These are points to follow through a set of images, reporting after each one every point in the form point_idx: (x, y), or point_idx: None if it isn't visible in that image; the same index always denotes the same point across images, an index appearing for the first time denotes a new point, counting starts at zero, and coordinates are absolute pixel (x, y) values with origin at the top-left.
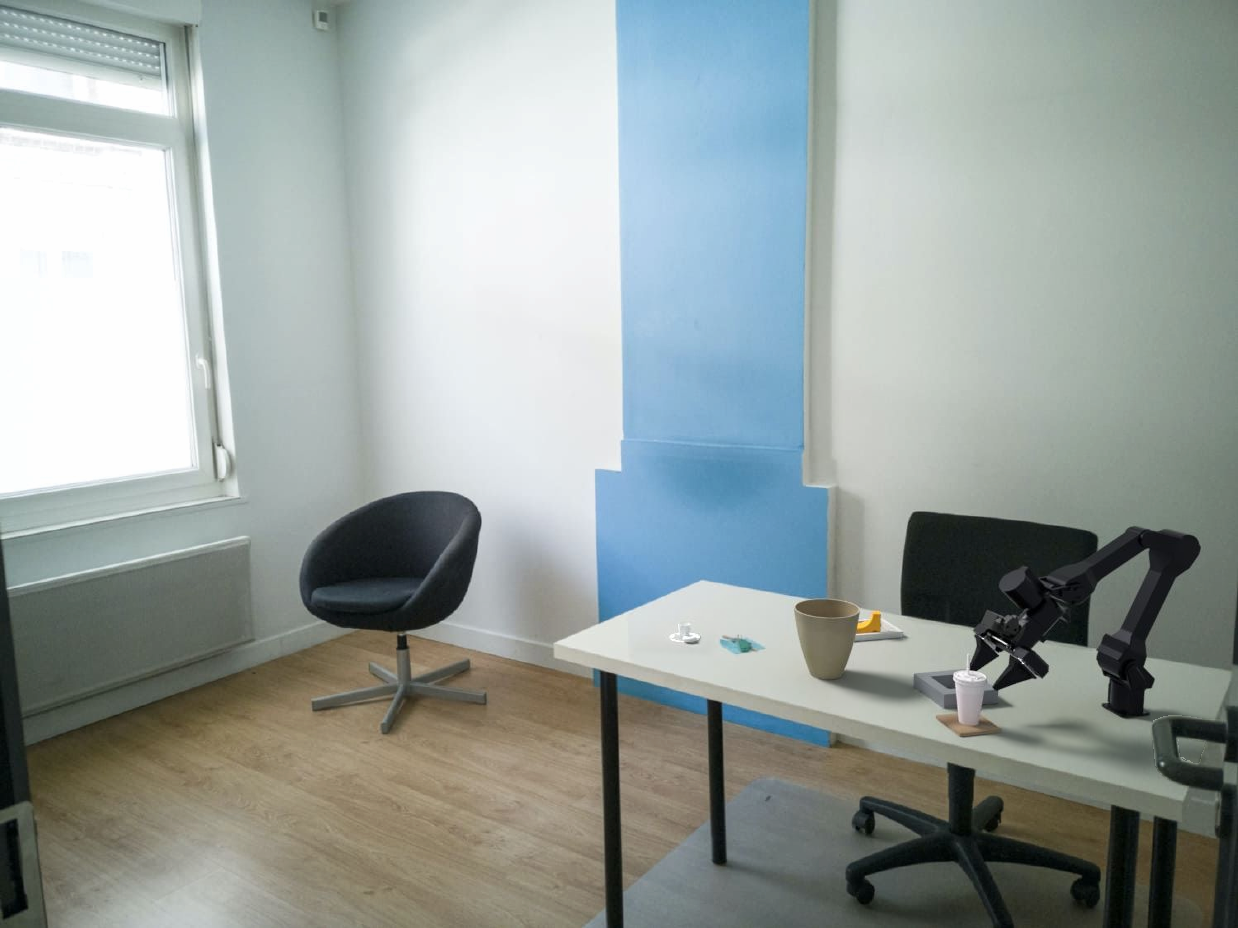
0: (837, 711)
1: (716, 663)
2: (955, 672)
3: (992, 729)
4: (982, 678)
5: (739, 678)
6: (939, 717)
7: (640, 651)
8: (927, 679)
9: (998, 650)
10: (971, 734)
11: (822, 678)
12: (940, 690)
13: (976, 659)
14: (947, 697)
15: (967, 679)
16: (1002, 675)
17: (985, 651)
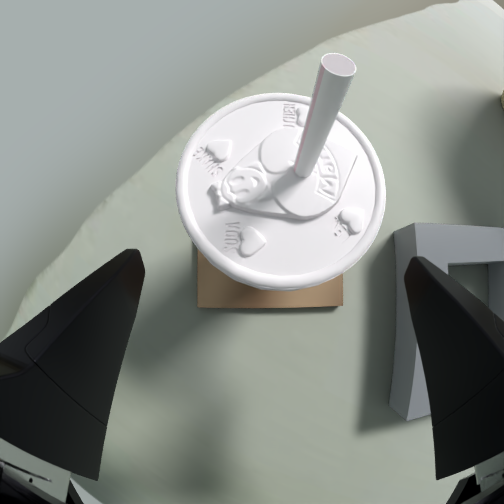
0: (377, 33)
1: (501, 40)
2: (351, 124)
3: (202, 277)
4: (223, 232)
5: (470, 26)
6: None
7: (500, 19)
8: (499, 242)
9: (463, 488)
10: None
11: (501, 98)
12: (442, 231)
13: (458, 317)
14: (410, 237)
15: (231, 131)
16: (70, 301)
17: (487, 406)
